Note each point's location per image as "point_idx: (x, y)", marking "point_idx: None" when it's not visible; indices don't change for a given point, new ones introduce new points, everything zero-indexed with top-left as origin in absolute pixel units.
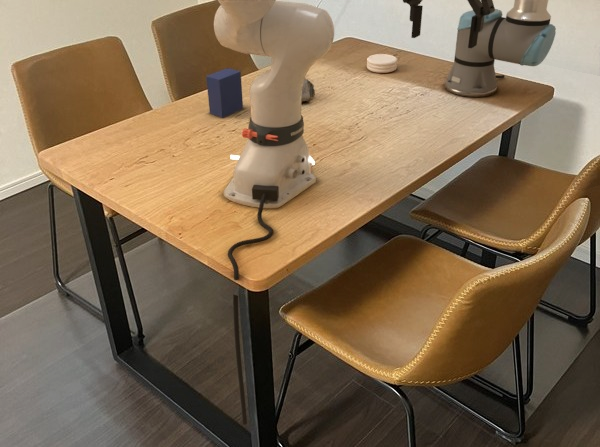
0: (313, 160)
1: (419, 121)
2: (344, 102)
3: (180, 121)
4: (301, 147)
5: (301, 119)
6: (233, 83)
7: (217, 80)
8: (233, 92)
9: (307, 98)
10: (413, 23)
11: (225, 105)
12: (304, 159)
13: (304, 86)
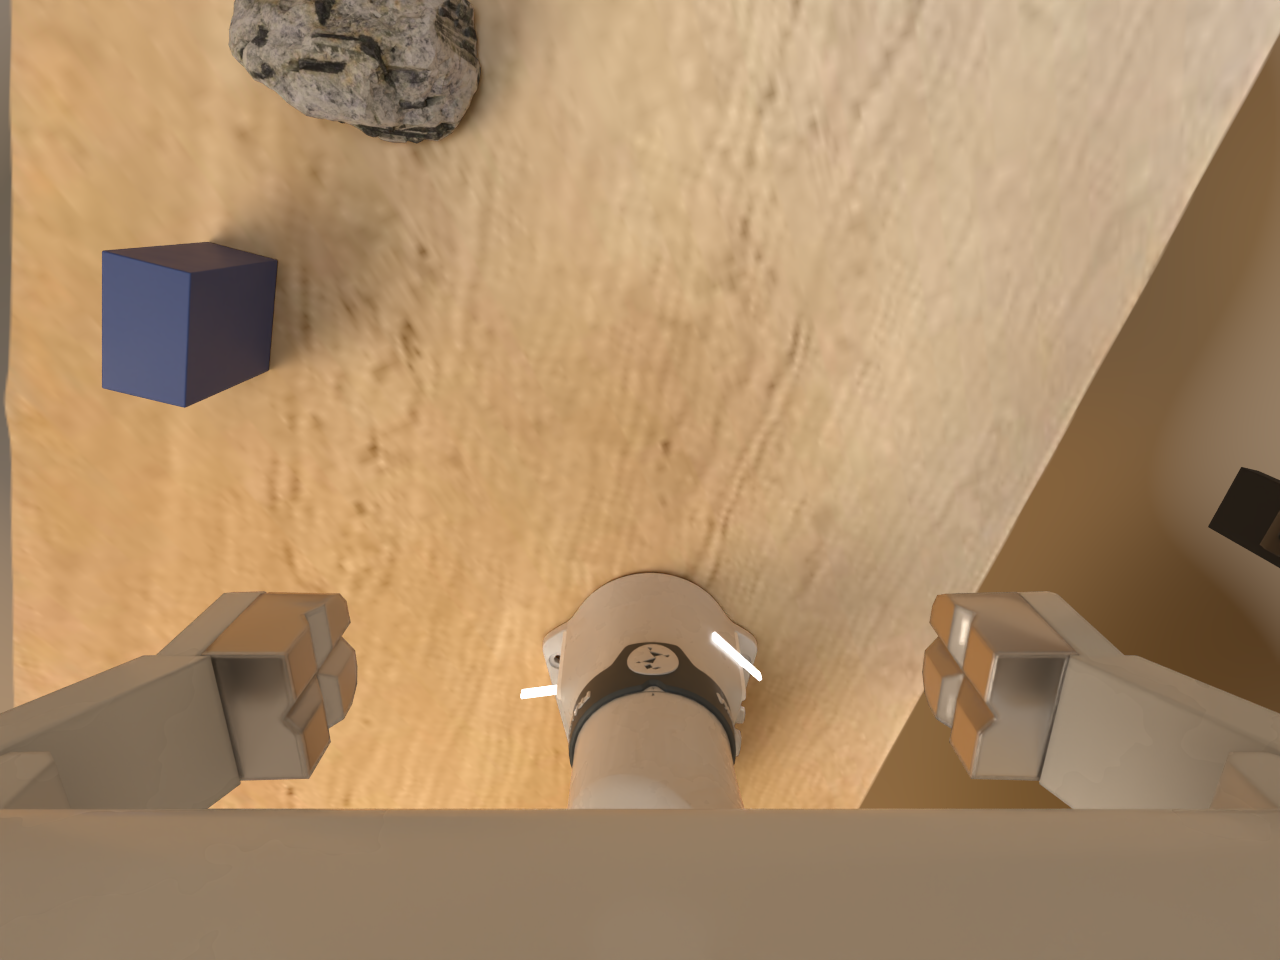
0: (757, 676)
1: (973, 98)
2: (620, 7)
3: (163, 451)
4: (735, 719)
5: (730, 740)
6: (211, 318)
7: (177, 404)
8: (232, 318)
9: (474, 91)
10: (1275, 564)
11: (249, 359)
12: (744, 708)
13: (442, 70)
